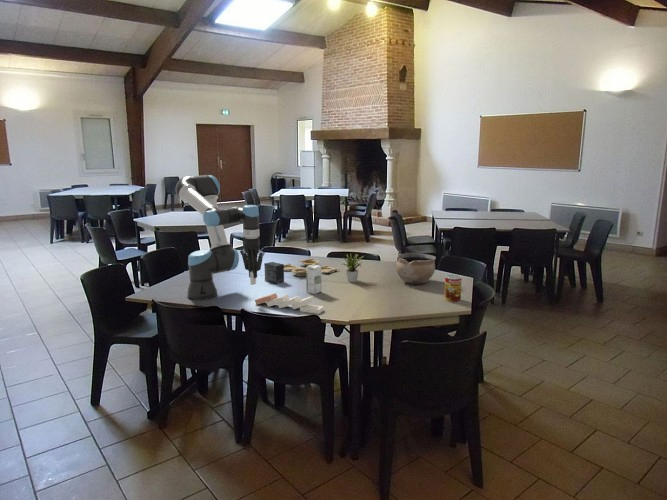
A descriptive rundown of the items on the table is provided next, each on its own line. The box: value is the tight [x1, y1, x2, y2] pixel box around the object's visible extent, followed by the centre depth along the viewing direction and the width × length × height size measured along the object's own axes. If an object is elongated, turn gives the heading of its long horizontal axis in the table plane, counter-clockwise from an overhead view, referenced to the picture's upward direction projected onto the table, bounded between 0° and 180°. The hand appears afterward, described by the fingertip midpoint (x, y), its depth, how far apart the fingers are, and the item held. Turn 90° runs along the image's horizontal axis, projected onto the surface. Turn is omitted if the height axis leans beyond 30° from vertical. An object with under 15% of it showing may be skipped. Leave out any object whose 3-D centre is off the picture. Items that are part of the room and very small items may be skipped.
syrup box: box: [305, 264, 322, 295], centre depth 262 cm, size 6×6×14 cm
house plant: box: [341, 252, 365, 283], centre depth 281 cm, size 14×14×16 cm
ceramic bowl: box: [395, 252, 437, 285], centre depth 278 cm, size 22×22×15 cm
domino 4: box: [291, 295, 316, 310], centre depth 236 cm, size 2×5×10 cm
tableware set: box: [284, 257, 339, 277], centre depth 310 cm, size 35×29×4 cm
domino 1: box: [254, 292, 278, 305], centre depth 244 cm, size 2×5×10 cm
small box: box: [263, 261, 285, 284], centre depth 285 cm, size 11×6×10 cm, turn 47°
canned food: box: [444, 274, 462, 303], centre depth 246 cm, size 8×8×12 cm
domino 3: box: [277, 295, 302, 309], centre depth 238 cm, size 2×5×10 cm
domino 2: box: [265, 294, 290, 308], centre depth 240 cm, size 2×5×10 cm
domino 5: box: [299, 304, 325, 315], centre depth 234 cm, size 2×5×10 cm
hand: (253, 283), depth 246 cm, fingers closed
